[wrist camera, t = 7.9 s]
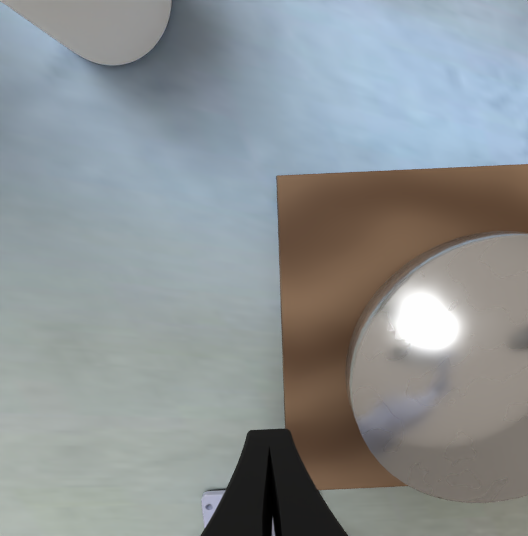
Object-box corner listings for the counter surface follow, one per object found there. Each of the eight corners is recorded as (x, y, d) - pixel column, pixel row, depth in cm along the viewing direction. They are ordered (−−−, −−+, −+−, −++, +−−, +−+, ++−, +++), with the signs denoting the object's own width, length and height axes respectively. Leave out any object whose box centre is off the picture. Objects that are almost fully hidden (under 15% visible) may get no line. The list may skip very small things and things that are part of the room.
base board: (573, 459, 24) (686, 558, 18) (286, 472, 24) (296, 576, 18) (633, 159, 19) (817, 147, 13) (276, 176, 19) (284, 172, 13)
